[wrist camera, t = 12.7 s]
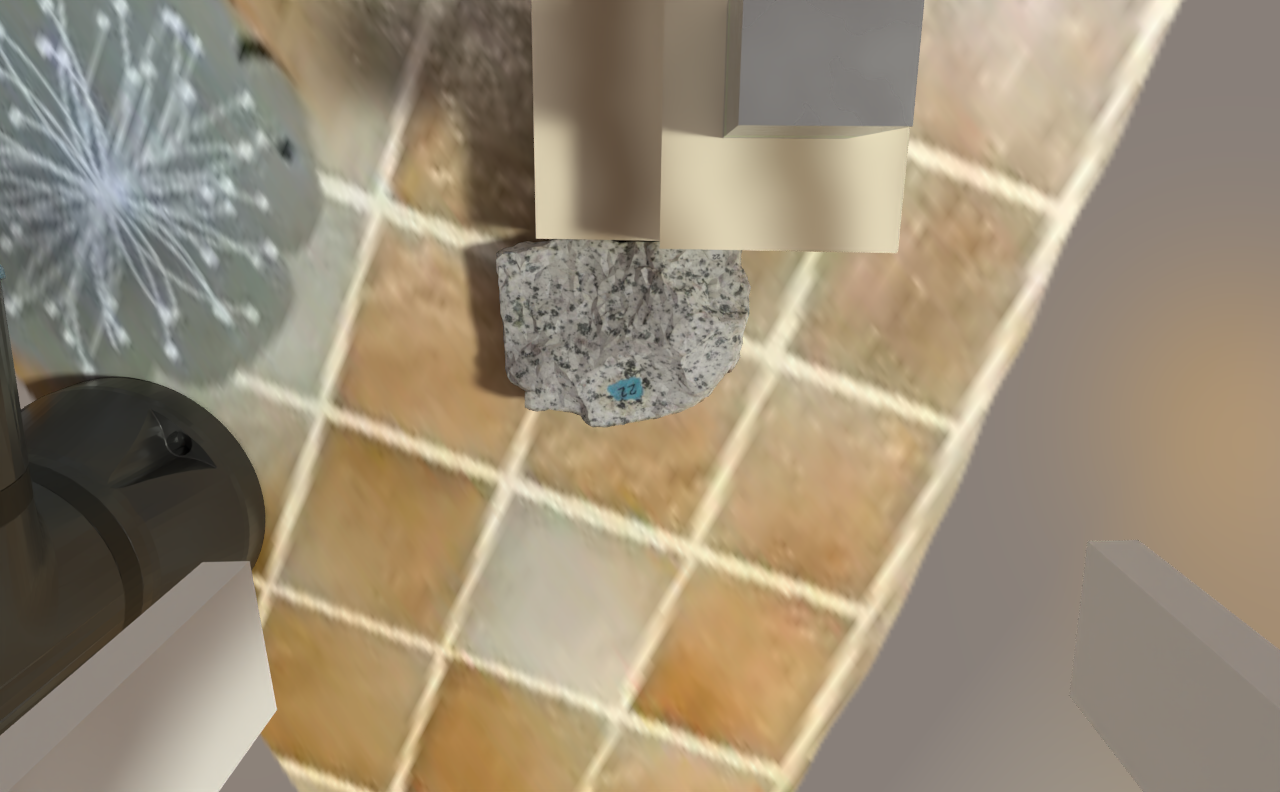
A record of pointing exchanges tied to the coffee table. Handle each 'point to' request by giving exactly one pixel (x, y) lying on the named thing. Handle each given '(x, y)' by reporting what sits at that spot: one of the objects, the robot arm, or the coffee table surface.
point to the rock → (619, 325)
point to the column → (820, 67)
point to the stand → (686, 143)
